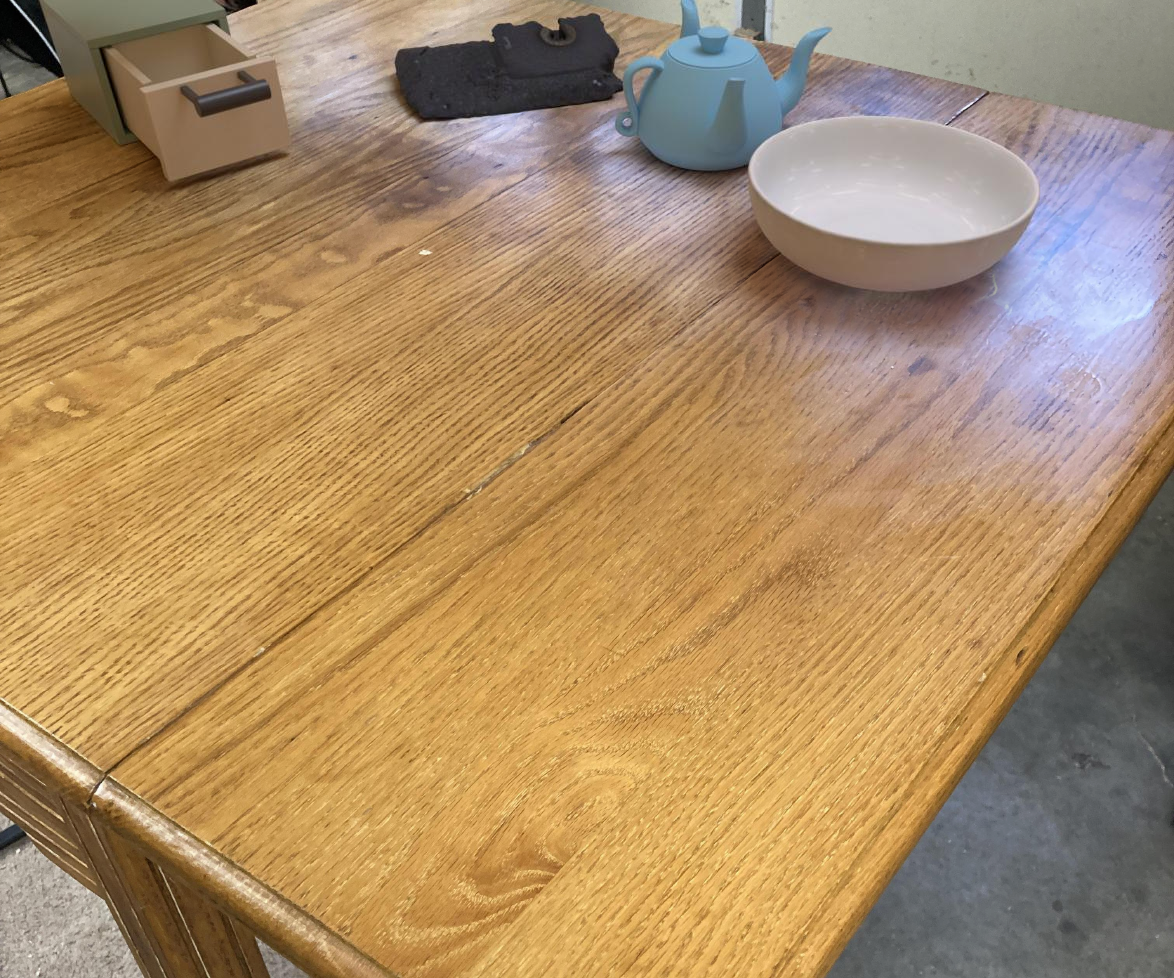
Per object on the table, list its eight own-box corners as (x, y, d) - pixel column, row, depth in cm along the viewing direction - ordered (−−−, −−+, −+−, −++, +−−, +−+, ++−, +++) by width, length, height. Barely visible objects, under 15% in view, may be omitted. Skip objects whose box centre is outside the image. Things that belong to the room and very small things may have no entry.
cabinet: (248, 110, 108) (224, 8, 102) (119, 146, 103) (86, 40, 96) (191, 64, 117) (167, -32, 110) (70, 95, 112) (37, -5, 105)
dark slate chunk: (388, 66, 116) (381, 19, 112) (592, 41, 120) (591, -5, 117) (411, 127, 105) (405, 76, 101) (635, 97, 109) (635, 48, 106)
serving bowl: (1078, 276, 83) (1105, 191, 79) (864, 364, 76) (880, 275, 71) (886, 169, 97) (900, 91, 92) (688, 234, 89) (691, 153, 84)
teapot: (592, 154, 100) (591, 38, 93) (685, 96, 109) (690, -13, 102) (732, 199, 93) (742, 78, 86) (820, 135, 102) (834, 20, 95)
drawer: (317, 165, 97) (299, 74, 92) (191, 204, 92) (165, 110, 87) (233, 97, 108) (213, 12, 103) (117, 128, 103) (89, 40, 98)
